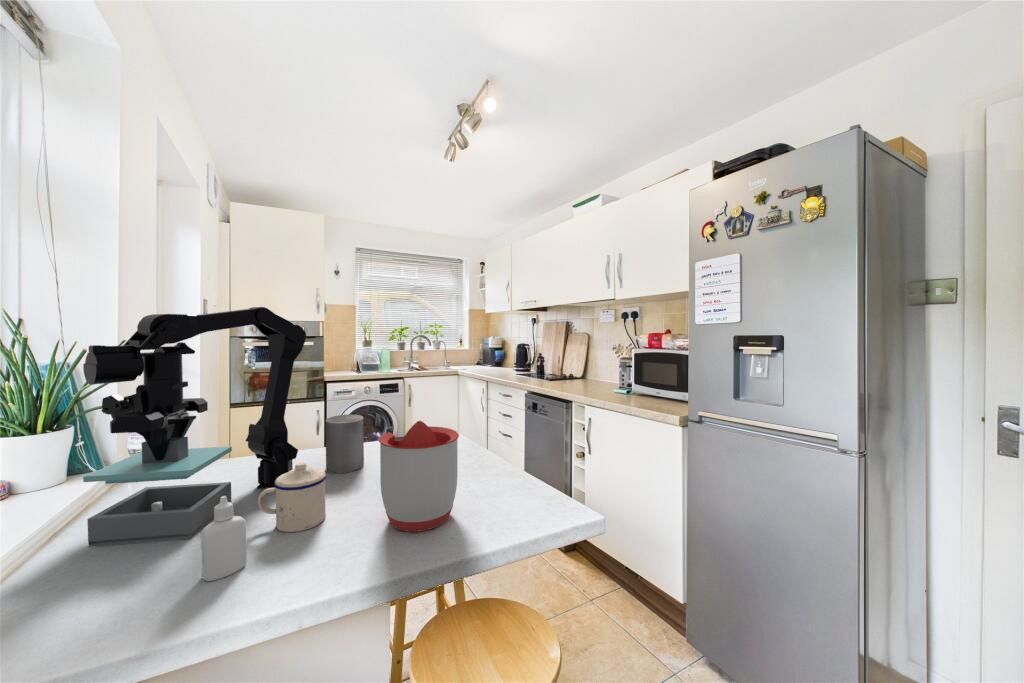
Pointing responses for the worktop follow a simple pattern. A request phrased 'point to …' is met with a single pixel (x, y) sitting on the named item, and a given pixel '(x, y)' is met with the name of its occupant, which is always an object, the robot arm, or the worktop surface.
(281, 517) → the teacup with lid
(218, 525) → the eye dropper bottle
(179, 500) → the tub
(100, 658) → the worktop surface
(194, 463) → the lid
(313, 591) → the worktop surface
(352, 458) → the pillar candle
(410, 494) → the citrus juicer
